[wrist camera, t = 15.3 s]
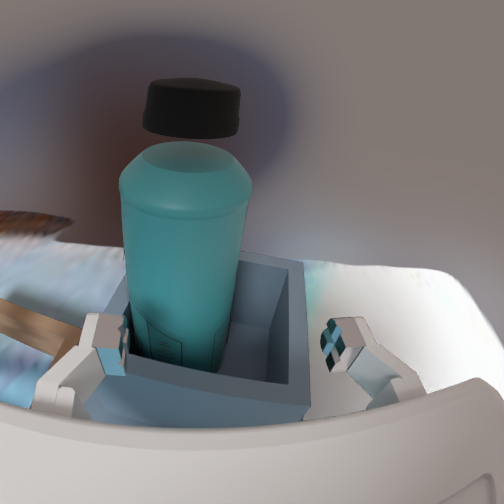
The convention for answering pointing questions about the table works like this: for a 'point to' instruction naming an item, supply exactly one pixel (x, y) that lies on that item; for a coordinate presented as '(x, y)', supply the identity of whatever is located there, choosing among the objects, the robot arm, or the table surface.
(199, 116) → the beverage bottle
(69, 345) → the walnut sleeve
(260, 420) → the bottle holder
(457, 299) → the table surface
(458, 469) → the robot arm
